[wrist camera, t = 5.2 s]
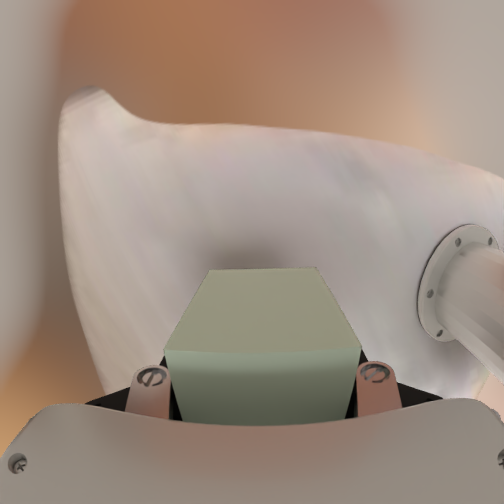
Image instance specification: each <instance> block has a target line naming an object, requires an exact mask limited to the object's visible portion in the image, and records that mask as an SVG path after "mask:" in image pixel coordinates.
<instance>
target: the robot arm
mask: <svg viewBox="0 0 504 504" xmlns="http://www.w3.org/2000/svg"><path fill="white" fill-rule="evenodd" d="M418 314H419V319H420V322H421V325H422V326H423V328H424V330H425V331H426V332H427V333H428V334H429V335H430V336H431V337H432V338H434V339H435V340H438V341H442V342H447V341H453V340H456V339H457V340H458V341H459V342H460V343H461V344H462V345H463V346H464V347H465V348H467V349H468V350H469V351H470V352H471V353H472V354H473V355H474V356H475V357H476V358H477V359H478V360H479V361H480V362H481V363H482V364H483V365H484V366H485V367H486V368H487V369H488V370H489V371H490V372H491V373H492V374H493V375H494V376H495V377H496V378H497V379H498V380H499V381H500V382H501V383H502V384H503V385H504V252H503V251H501V250H499V248H498V244H497V242H496V240H495V238H494V236H493V235H492V234H491V233H490V232H489V231H488V230H487V229H485V228H483V227H480V226H477V225H465V226H461V227H459V228H457V229H456V230H454V231H452V232H451V233H450V234H449V235H448V236H447V237H446V238H445V239H444V240H443V241H442V242H441V243H440V245H439V246H438V247H437V249H436V250H435V252H434V254H433V255H432V257H431V259H430V261H429V263H428V265H427V267H426V269H425V272H424V275H423V278H422V281H421V285H420V290H419V296H418ZM0 504H504V423H503V422H502V421H501V418H500V415H499V414H498V412H496V411H495V410H494V409H490V408H489V407H488V406H487V405H485V404H484V403H482V402H481V401H478V400H475V399H468V398H450V399H443V398H441V397H439V396H437V395H434V394H431V393H427V392H424V391H421V390H418V389H415V388H412V387H409V386H406V385H404V384H401V383H398V382H396V378H395V374H394V371H393V369H392V368H391V367H390V366H389V365H387V364H385V363H382V362H378V361H369V362H368V360H367V358H366V356H365V354H364V352H363V350H362V348H361V354H360V359H359V363H358V368H357V373H356V377H355V381H354V385H353V389H352V393H351V397H350V401H349V405H348V409H347V412H346V416H345V419H342V420H334V421H326V422H316V423H305V424H290V425H221V424H205V423H194V422H184V421H183V419H182V416H181V413H180V410H179V407H178V403H177V400H176V396H175V393H174V389H173V386H172V382H171V378H170V374H169V371H168V367H167V363H166V358H165V355H164V357H163V359H162V361H161V363H160V365H150V366H146V367H143V368H141V369H139V370H138V371H137V372H136V373H135V374H134V376H133V379H132V383H131V387H128V388H126V389H123V390H120V391H118V392H115V393H112V394H109V395H106V396H104V397H101V398H98V399H95V400H92V401H89V402H87V403H85V404H73V403H72V404H55V405H51V406H48V407H45V408H44V409H42V410H41V411H39V412H38V413H37V414H36V415H35V416H33V417H32V418H31V419H30V420H29V421H28V423H27V424H26V425H25V426H24V427H23V428H22V430H21V431H20V432H19V434H18V435H17V436H16V437H15V439H14V440H13V441H12V442H11V444H10V445H9V446H8V448H7V449H6V451H5V452H4V454H3V455H2V457H1V458H0Z"/></svg>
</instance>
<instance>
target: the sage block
mask: <svg viewBox="0 0 504 504" xmlns="http://www.w3.org/2000/svg"><path fill="white" fill-rule="evenodd" d="M361 348H362V345H361V344H360V342H359V340H358V338H357V336H356V335H355V333H354V331H353V329H352V327H351V326H350V324H349V322H348V320H347V319H346V317H345V315H344V313H343V312H342V310H341V308H340V307H339V305H338V303H337V301H336V300H335V298H334V296H333V295H332V293H331V291H330V290H329V288H328V286H327V285H326V283H325V281H324V280H323V278H322V276H321V275H320V273H319V271H318V270H317V268H316V267H305V268H270V269H222V270H209V272H208V273H207V275H206V277H205V278H204V280H203V282H202V283H201V285H200V287H199V289H198V290H197V292H196V294H195V295H194V297H193V299H192V300H191V302H190V304H189V306H188V307H187V309H186V311H185V313H184V314H183V316H182V318H181V320H180V321H179V323H178V325H177V326H176V328H175V330H174V332H173V334H172V335H171V337H170V339H169V341H168V342H167V344H166V346H165V348H164V349H163V350H164V354H165V358H166V363H167V367H168V371H169V374H170V378H171V382H172V386H173V389H174V393H175V396H176V400H177V403H178V407H179V410H180V413H181V416H182V419H183V421H184V422H194V423H205V424H221V425H290V424H305V423H316V422H326V421H334V420H342V419H345V416H346V412H347V409H348V405H349V401H350V397H351V393H352V389H353V385H354V381H355V377H356V373H357V368H358V363H359V359H360V354H361Z"/></svg>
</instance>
